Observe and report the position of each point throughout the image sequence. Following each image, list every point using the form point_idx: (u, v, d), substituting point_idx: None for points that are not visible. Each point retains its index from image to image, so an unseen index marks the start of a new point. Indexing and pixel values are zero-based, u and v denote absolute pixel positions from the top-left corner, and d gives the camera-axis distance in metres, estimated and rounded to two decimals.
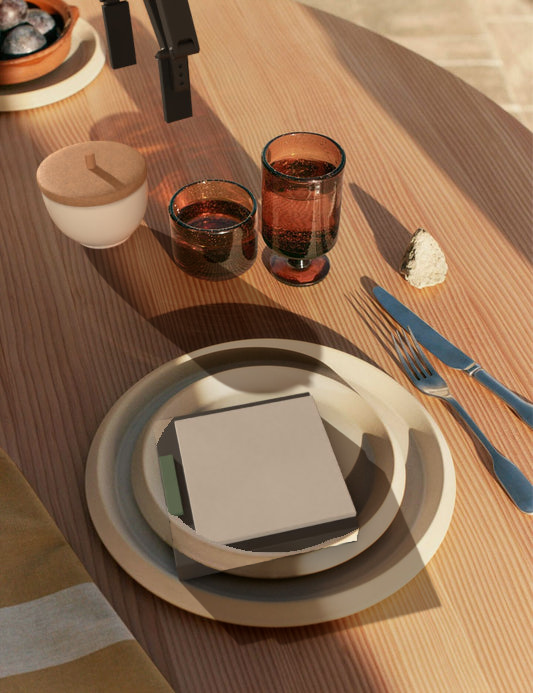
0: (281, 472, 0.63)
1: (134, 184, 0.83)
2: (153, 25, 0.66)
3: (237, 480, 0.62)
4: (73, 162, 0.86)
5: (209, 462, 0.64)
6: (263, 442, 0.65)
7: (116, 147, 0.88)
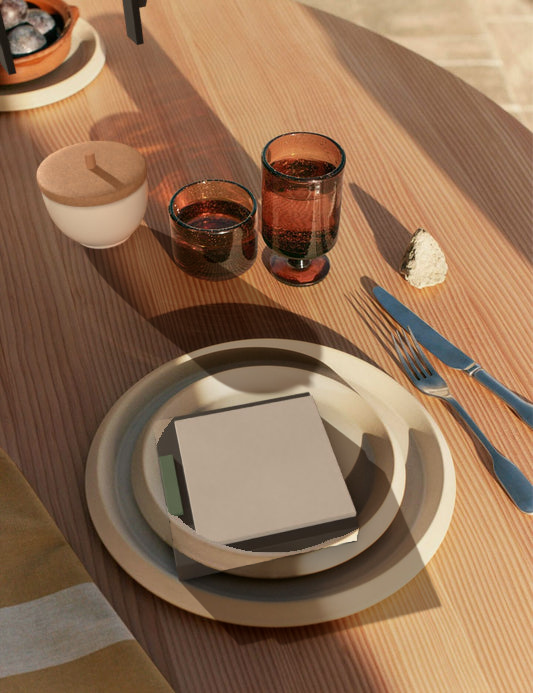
0: (281, 472, 0.63)
1: (134, 184, 0.83)
2: None
3: (237, 480, 0.62)
4: (73, 162, 0.86)
5: (209, 462, 0.64)
6: (263, 442, 0.65)
7: (116, 147, 0.88)
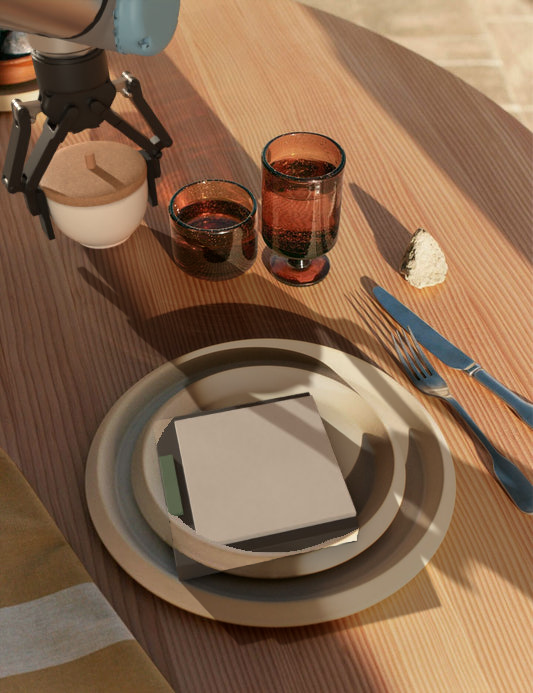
0: (281, 472, 0.63)
1: (134, 184, 0.83)
2: (140, 142, 0.85)
3: (237, 480, 0.62)
4: (73, 162, 0.86)
5: (209, 462, 0.64)
6: (263, 442, 0.65)
7: (116, 147, 0.88)
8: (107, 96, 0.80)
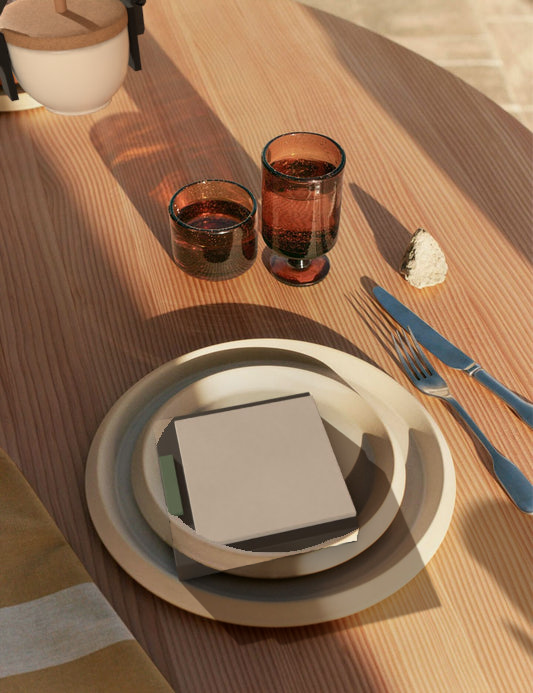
0: (281, 472, 0.63)
1: (111, 27, 0.70)
2: None
3: (237, 480, 0.62)
4: (40, 7, 0.72)
5: (209, 462, 0.64)
6: (263, 442, 0.65)
7: None
8: None
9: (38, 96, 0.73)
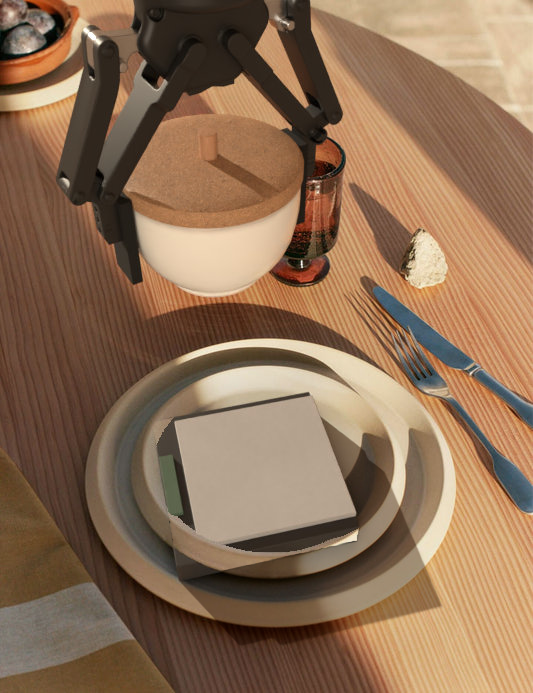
0: (281, 472, 0.63)
1: (291, 187, 0.47)
2: (294, 114, 0.49)
3: (237, 480, 0.62)
4: (177, 150, 0.49)
5: (209, 462, 0.64)
6: (263, 442, 0.65)
7: (243, 124, 0.52)
8: (254, 25, 0.43)
9: (173, 278, 0.50)
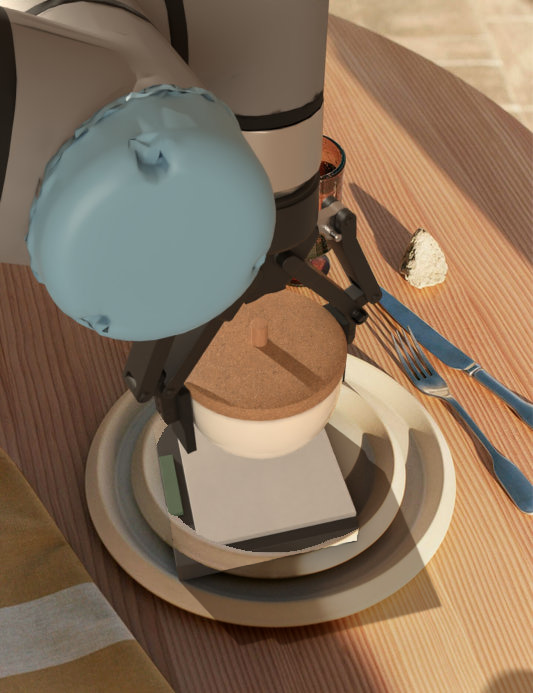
0: (281, 472, 0.63)
1: (336, 377, 0.51)
2: (338, 302, 0.53)
3: (237, 480, 0.62)
4: (230, 333, 0.53)
5: (209, 462, 0.64)
6: None
7: (289, 301, 0.56)
8: (306, 243, 0.47)
9: (225, 450, 0.54)
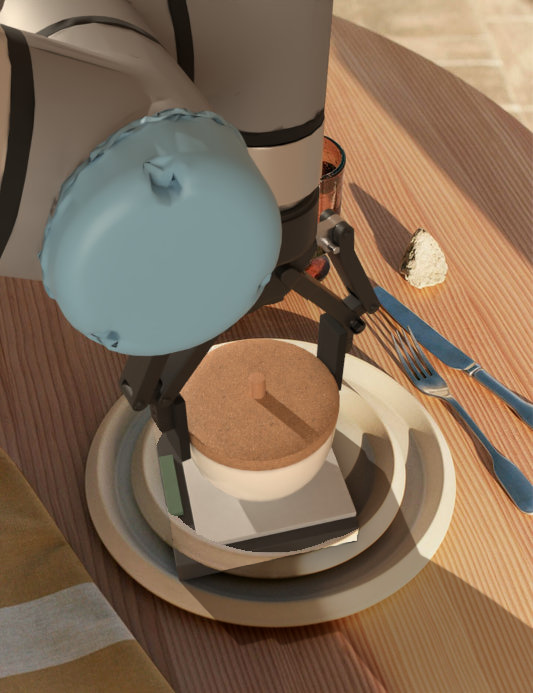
0: None
1: (329, 428, 0.55)
2: (336, 313, 0.54)
3: None
4: (230, 386, 0.57)
5: None
6: None
7: (286, 353, 0.60)
8: (304, 256, 0.48)
9: (226, 493, 0.58)
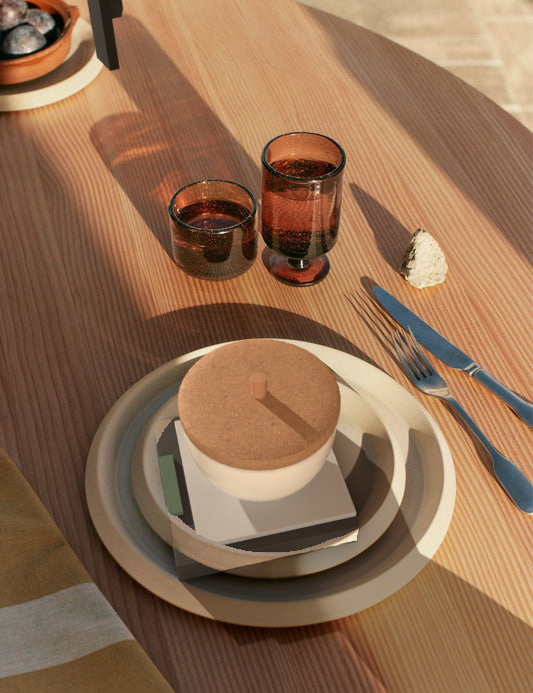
0: None
1: (330, 428, 0.55)
2: None
3: None
4: (231, 385, 0.57)
5: None
6: None
7: (287, 353, 0.60)
8: None
9: (226, 493, 0.58)
